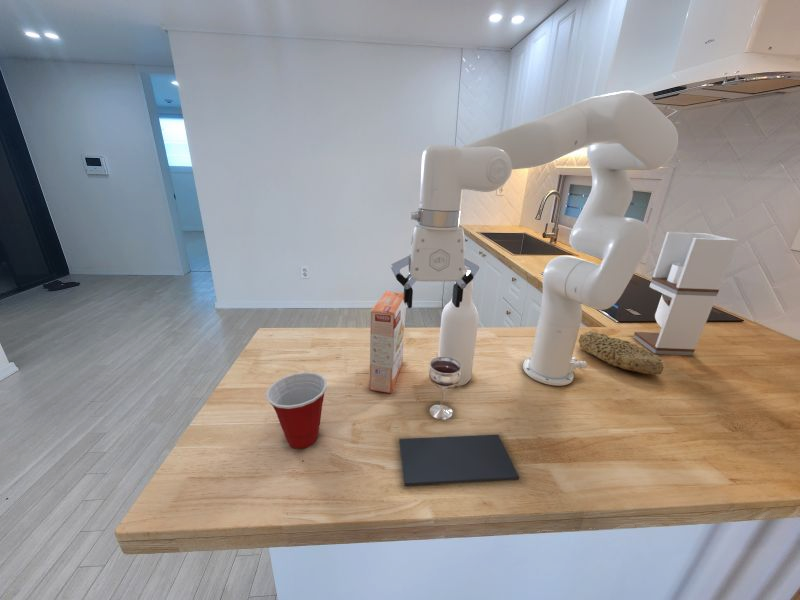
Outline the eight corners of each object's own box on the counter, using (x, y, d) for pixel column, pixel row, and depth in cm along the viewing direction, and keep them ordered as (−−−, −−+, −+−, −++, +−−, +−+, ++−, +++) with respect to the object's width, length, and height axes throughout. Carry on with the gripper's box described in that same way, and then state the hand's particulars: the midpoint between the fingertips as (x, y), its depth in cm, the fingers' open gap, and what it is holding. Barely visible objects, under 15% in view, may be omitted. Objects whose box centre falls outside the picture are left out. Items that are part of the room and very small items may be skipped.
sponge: (571, 353, 103) (632, 377, 84) (577, 328, 102) (640, 347, 83) (604, 355, 107) (669, 379, 88) (609, 332, 106) (677, 351, 87)
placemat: (497, 436, 68) (498, 434, 67) (518, 479, 58) (519, 476, 58) (399, 441, 66) (399, 438, 65) (404, 486, 56) (404, 483, 56)
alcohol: (429, 376, 87) (438, 263, 76) (450, 363, 92) (460, 257, 81) (457, 391, 81) (471, 272, 70) (477, 377, 87) (493, 265, 76)
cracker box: (393, 394, 79) (395, 313, 71) (368, 390, 80) (368, 310, 72) (404, 363, 92) (407, 291, 84) (383, 360, 93) (384, 289, 85)
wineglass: (462, 412, 74) (468, 365, 70) (443, 427, 70) (448, 378, 65) (439, 397, 78) (443, 353, 74) (419, 410, 74) (422, 364, 70)
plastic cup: (296, 412, 72) (291, 364, 68) (340, 427, 69) (338, 377, 64) (259, 448, 63) (251, 395, 58) (308, 467, 59) (303, 412, 55)
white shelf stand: (667, 338, 111) (705, 233, 99) (692, 355, 102) (739, 240, 89) (633, 337, 112) (667, 231, 99) (655, 353, 102) (696, 238, 89)
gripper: (394, 221, 57) (391, 313, 63) (491, 223, 59) (479, 312, 65) (390, 215, 64) (388, 299, 70) (477, 217, 66) (467, 298, 72)
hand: (432, 305), depth 68 cm, fingers open, 9 cm apart
